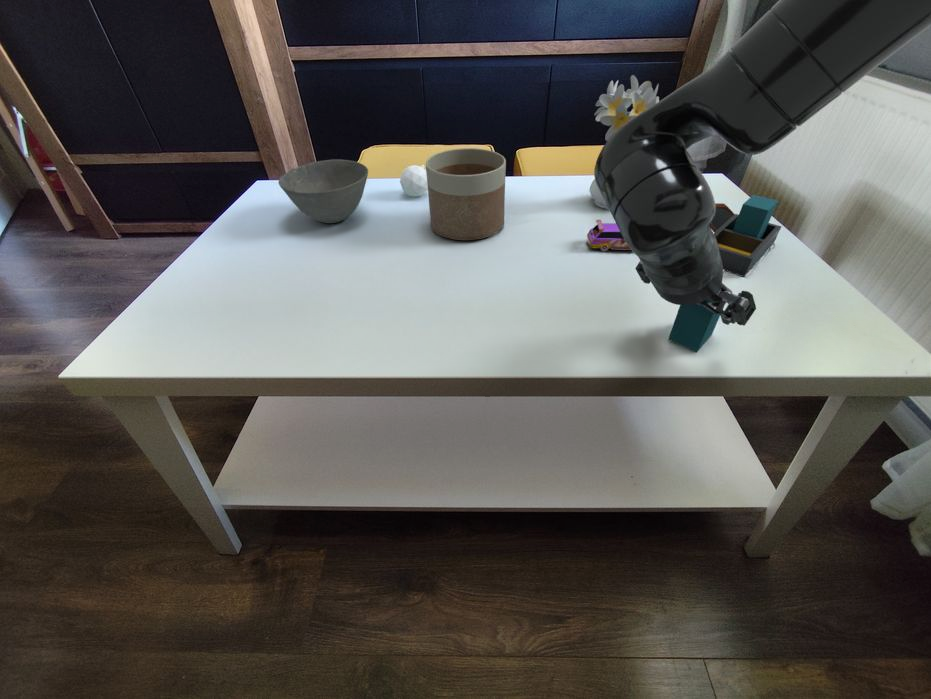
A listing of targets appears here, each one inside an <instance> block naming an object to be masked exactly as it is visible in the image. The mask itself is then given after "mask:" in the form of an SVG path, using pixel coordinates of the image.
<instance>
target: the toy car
mask: <svg viewBox="0 0 931 699" xmlns="http://www.w3.org/2000/svg"><path fill="white" fill-rule="evenodd" d="M595 221H596V225H594V227H592V228H590V229H589V231H588V233H587V234H586V238H587V242H588V245H589V248H591V249H600V251H601V252H607V251H608V250H609V249H611V250H621V251H622V250H624V251H626V250H628V251H632V250H631V249H630V247H629V246H628V244H627V243H626V241H625V239H624V238H623V236H622V234H621V232H620V230H619V228H618V226H617V224H616V222H613V223H611V222H610V223H609V222H605V223H604V222H602V220H601V219H596V220H595Z"/></svg>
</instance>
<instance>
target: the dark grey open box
mask: <svg viewBox="0 0 931 699" xmlns="http://www.w3.org/2000/svg"><path fill="white" fill-rule="evenodd" d="M738 216H739V213H738V214H737V213H734V215H733V216H732V217H731V218H730V219H729V220H728V221H727V222H726V223H725V224H723V225H722V226H721V227H720V228H719V229H718V230H717V231H716V232H715V233H714V232H713V234H714V236H715V238H716V240H717V243H718V247H719V251H720V256H721V260H722V265H723V271H726V272H729V273H732V274H735V275H738V276H741V277H746V276H747V275H748V273H749V272H750V271H751V270H752V269H753V267H754V266H755V265H757V263H758V262H759V261H760V260H761V259H762V257H763V256H764V255H765V254H766V253H767V252H768V250H770V248H771V247H772V246H773V245H774V243H775V241H776V239H777V237H778V235H779V233H780V231H781V229H782V226H781V225H778V224H774V223H772V222H771V223H770V222H769V223H768V225H767V228H766V230H765V232H764V234H763V237H762V239H759V238H756V237H752V236H749V235H745V234H742V233H738V232H735V231H733V228H734V226H735V223H736V221H737V218H738Z"/></svg>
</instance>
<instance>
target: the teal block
mask: <svg viewBox="0 0 931 699" xmlns="http://www.w3.org/2000/svg"><path fill="white" fill-rule="evenodd" d="M708 304H709V305H711V304H712V303H708ZM724 308H725V306H724V307H723V309H724ZM720 318H721V316H720V315H718V314H712V313H709V312H707V311H706V310H704V309H703V308H702V307H700V306H699V305H696V304H692V305H679V307H678V310H677V312H676V316H675V319H674V322H673V325H672V327H671V330H670V333H669V335H668V339H667V340H668V341H671V342H673V343H675V344H677V345H679V346H682V347H684V348H686V349H688V350H690V351H692V352H695V353H698V352H699V351H700V349H701V348H702V347H703V346H704V345H705V343H706V342H707V341H708V340H709V339H710V338H711V337H712V335H713V333H714V331H715V328H716V326H717V324H718V321H719V319H720Z"/></svg>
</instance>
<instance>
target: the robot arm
mask: <svg viewBox="0 0 931 699" xmlns="http://www.w3.org/2000/svg"><path fill="white" fill-rule="evenodd" d="M930 27H931V0H778V1H777V2H776V3H775V4H773V6H772V7H771V8H770V10H769V9H768V11H767V12H765V13H764V14H763V16H762V17H760V18H759V19H758V20H757V21H756V23H754V24H753V25H752V26H751V27H750V28H749V29H748V30H747V31H746V32H745V33H744V34H743V35H742V36H741V37H740V38H739V39H738V40H737V41H736V42H735V43H734V44H733V45H732V46H731V47H730V49H728V50H727V51H726V52H725V53H724V54H723V55H722V56H721V57H720V58H719V59H718V60H717V61H716V62H715V63H714V64H713V65H712V66H710V68H707V69H706V70H704V71H703V72H702V73H700V74H699V75H697V76H696V77H694V78H692V79H691V80H689V81H687V82H686V83H685V84H683V85H681V86H680V87H679V88H677V89H675V90H674V91H673V92H671V93H670V94H668V95H667V96H665V97H664V98H662V99H661V100H659V102H658V103H656V104H654V105H653V106H651V107H650V108H648V109H647V110H645V111H644V112H642V113H640V114H639V115H637V116H636V117H634V118H633V119H631V120H630V121H628V122H627V123H625V124H624V125H623V126H621V127H620V128H619V129H618V130H617V131H616V132H615V133H614V134H613V135H612V136H611V137H610V138H609V139H608V141H606V142H605V144H603V147H602V148H601V150H600V152H599V154H598V156H597V159H596V161H595V165H594V169H593V170H594V171H593V175H594V176H593V177H594V179H595V181H596V184H597V187H598V189H599V191H600V193H601V195H602V197H603V198H604V201H605V202H606V204H607V206H608V208H609V209H608V210H609V213H610V214H611V216H612V218H613V221H614V223H616V224H617V226H618V228H619V230H620V232H621V234H622V236H623V238H624V239H625V241H626V243H627V244H628V246H629V247H630V249H631V250H630V251H631V252H632V253H633V254H634V255H635V256H636V257H638V260H639V261H638V263H637V264H636V266H635V268H634V269H635V271H636V273H637V274H638V277H639V279H640V280H641V281H642V282H643V283H644V284H647V285H650V284H651V285H652V286H653V288H654V289H655V291H656V292H657V294H658V295H659V296H660V297H661V298H662V299H663V300H665V301H667V302H668V303H671V304H673V305H677V306H680V305H692V304H696V305H699V306H700V307H702V308H703V309H704V310H706V311H707V312H709V313H712V314H718V315H720V319H721V322H722V323H723V324H724V325H725V326H726V325H727V326H729V325H730V324H733V325H734V324H736V325H739V326H743V327H744V326H746V324H747V323H748V322H749V320H750V319H751V317H752V316H753V315H754V313H755V312H756V310H757V305H756V302H755V298H754V295H753V294H752V293H751V292H750V291H747V290H742V291H741V292H738V293H737V294H735V293H733V291H732V289H730V288H729V287H727V286H726V285H725V284H724V283H723V279H724V270H723V265H722V260H721V256H720V251H719V247H718V243H717V240H716V238H715V236H714V232H713V230H712V229H711V224H712V221H713V219H714V216H715V213H716V204H715V203H716V200H715V198H714V197H715V196H714V194H713V192H712V189H711V187H710V185H709V183H708V181H707V180H706V178H705V176H704V175H703V173H702V172H701V170H700V168H699V167H698V165H697V164H696V162H695V161H694V160H693V158H692V157H691V154H690V153H689V151H688V149H690V148H691V147H692V146H694V145H695V144H697V143H698V142H700V141H702V140H703V141H704V140H705V139H707V138H710V137H714V136H718V137H720V139H722V140H723V141H724V142H725V143H726V144H728V145H729V146H731V147H732V148H733V149H734V150H735V151H738V152H740V153H742V154H745V155H748V156H754V155H760V154H761V153H764V152H766V151H768V150H770V149H771V148H773V147H775V146H776V145H778V144H779V143H780V142H781V141H783V140H784V139H786V138H787V137H788V136H790V134H792V133H793V132H795V131H796V130H797V129H798V127H801V126H802V125H804V124H805V123H806V122H808V121H809V120H810V119H811V118H813V117H814V116H815V115H817V114H818V113H819V112H821V111H822V110H823V109H824V108H826V107H827V106H828V105H829V104H831V103H832V102H834V101H835V100H836V99H838V98H839V97H840V96H841V95H843V94H842V93H845V92H847V91H848V90H849V89H850V88H851V87H853V86H854V85H855V84H857V83H859V81H861V80H862V79H863V78H864V77H866V76H867V75H868V74H869V73H871V72H872V71H873V70H875V69H876V68H877V67H878V66H880V65H881V64H882V63H884V62H885V61H886V60H887V59H889V58H890V57H892V56H893V55H895V54H896V53H897V52H898V51H899V50H901V49H902V48H904V47H905V46H906V45H907V44H908V43H910V42H911V41H913V40H914V39H915V38H917V37H918V36H919V35H921V34H922V33H923V32H924V31H926V30H928V29H929V28H930ZM708 303H712V304H711V305H709V304H708ZM726 304H728V305H727V306H726V308H725V305H726ZM723 307H724V308H725V309H724V308H723Z"/></svg>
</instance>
